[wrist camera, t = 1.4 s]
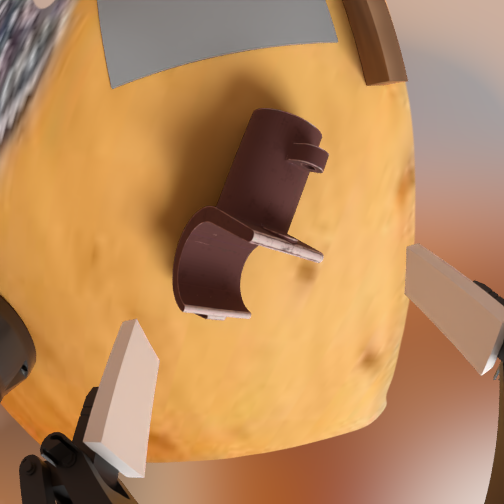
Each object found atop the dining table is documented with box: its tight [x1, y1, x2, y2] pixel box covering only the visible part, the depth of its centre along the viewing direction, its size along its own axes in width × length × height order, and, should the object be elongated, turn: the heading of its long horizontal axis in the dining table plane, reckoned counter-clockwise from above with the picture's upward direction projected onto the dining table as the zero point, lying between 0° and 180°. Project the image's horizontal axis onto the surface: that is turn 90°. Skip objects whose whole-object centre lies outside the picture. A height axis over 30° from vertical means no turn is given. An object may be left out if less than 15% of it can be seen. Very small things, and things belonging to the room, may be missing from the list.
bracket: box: [173, 108, 329, 320], centre depth 21 cm, size 6×17×10 cm, turn 157°
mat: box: [97, 0, 338, 89], centre depth 17 cm, size 20×11×1 cm, turn 102°
